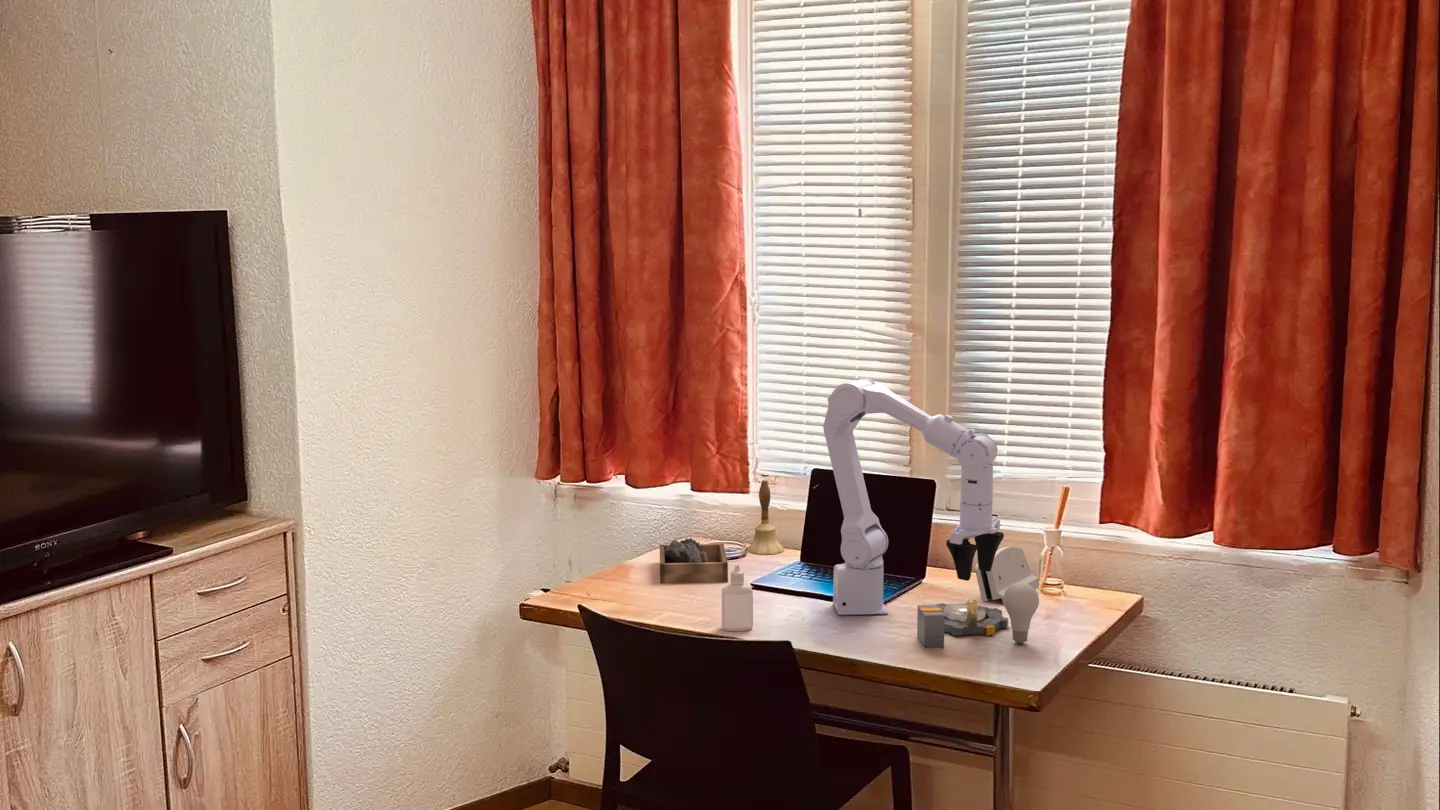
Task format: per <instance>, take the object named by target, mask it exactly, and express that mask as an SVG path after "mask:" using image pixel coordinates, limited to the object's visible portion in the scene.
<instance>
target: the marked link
mask: <svg viewBox="0 0 1440 810" xmlns="http://www.w3.org/2000/svg"><path fill="white" fill-rule="evenodd" d="M916 620H917V623H916V630H917V631H916V638H917V639H918V641H919V643H920V644H921V646H922V647H924V648H923V649H924V650H925V649H945V631H944V627H945V615H944V613H943V612H942V610H941V608H939V607H938V605H935V604H917V618H916Z"/></svg>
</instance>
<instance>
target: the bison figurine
mask: <svg viewBox="0 0 1440 810" xmlns="http://www.w3.org/2000/svg"><path fill="white" fill-rule="evenodd" d="M699 544H701V543H700V541H698V542H697V541H696V540H695V539H693V538H692V537H690V538H686V539H682V540H680V541H678V540H676V539H674V540H672V541H671V542H670V543H669V544H667V545H668V547H667V549H666V551H665V553H664V555H665V563H704V562H708V559H707V555H706V553H705V552H704V551H700V550H699Z"/></svg>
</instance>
